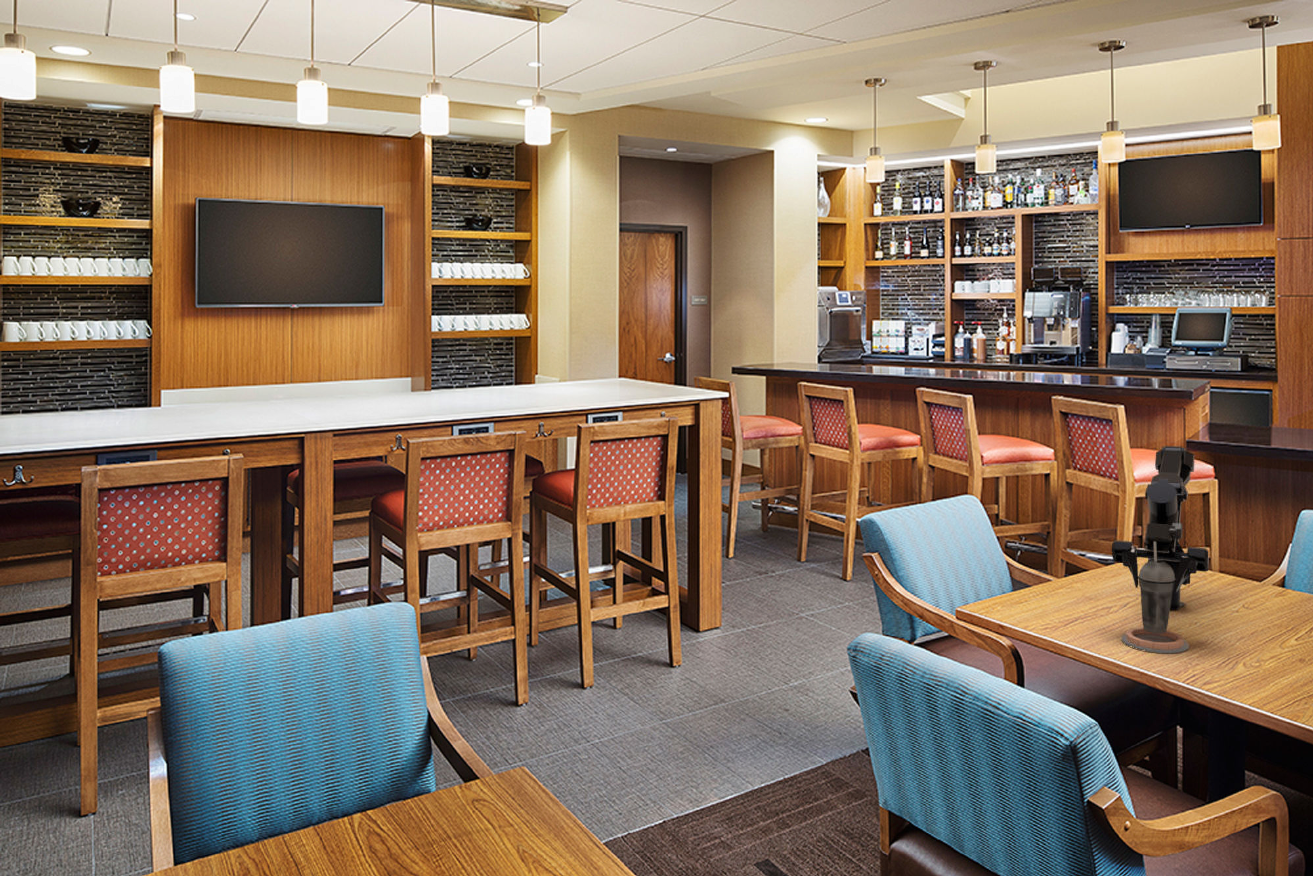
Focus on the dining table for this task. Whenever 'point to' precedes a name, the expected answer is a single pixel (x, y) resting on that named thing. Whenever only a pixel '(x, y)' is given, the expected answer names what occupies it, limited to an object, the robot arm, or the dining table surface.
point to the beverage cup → (1156, 594)
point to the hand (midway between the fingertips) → (1155, 589)
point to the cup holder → (1155, 641)
